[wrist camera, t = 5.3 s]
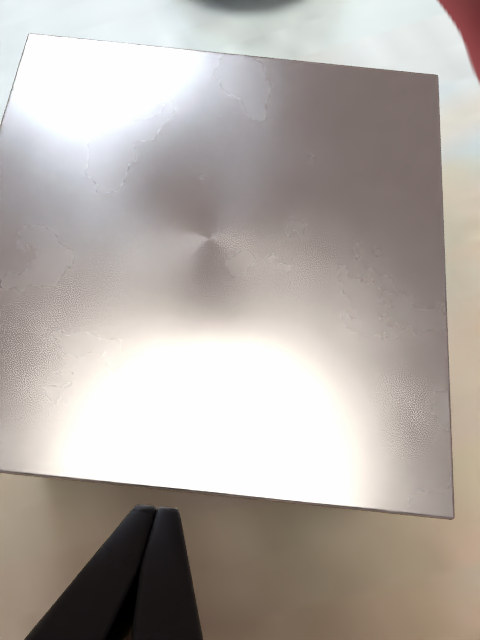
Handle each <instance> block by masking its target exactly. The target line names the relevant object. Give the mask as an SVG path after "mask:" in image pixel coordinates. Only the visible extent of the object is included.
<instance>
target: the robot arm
mask: <svg viewBox="0 0 480 640" xmlns="http://www.w3.org/2000/svg"><path fill="white" fill-rule="evenodd" d="M24 640H203V636H202V630H201V625H200V620H199V614H198V609H197V604H196V598H195V593H194V588H193V582H192V577H191V572H190V566H189V561H188V556H187V550H186V545H185V540H184V534H183V529H182V524H181V518H180V513H179V510H178V509H177V508H172V507H159V508H158V509H157V507H156V506H152V505H142V504H139V505H136V506H135V507H134V508H133V509H132V510H131V511H130V513H129V514H128V515H127V516H126V517H125V519H124V520H123V521H122V522H121V523H120V525H119V526H118V527H117V528H116V529H115V531H114V532H113V533H112V534H111V536H110V537H109V538H108V539H107V540H106V542H105V543H104V544H103V545H102V546H101V548H100V549H99V550H98V551H97V552H96V554H95V555H94V556H93V557H92V558H91V560H90V561H89V562H88V563H87V564H86V566H85V567H84V568H83V569H82V570H81V572H80V573H79V574H78V575H77V576H76V578H75V579H74V580H73V581H72V583H71V584H70V585H69V586H68V587H67V589H66V590H65V591H64V592H63V593H62V595H61V596H60V597H59V598H58V599H57V601H56V602H55V603H54V604H53V605H52V607H51V608H50V609H49V610H48V611H47V613H46V614H45V615H44V616H43V617H42V619H41V620H40V621H39V622H38V623H37V625H36V626H35V627H34V628H33V630H32V631H31V632H30V633H29V634H28V636H27V637H26V638H25V639H24Z"/></svg>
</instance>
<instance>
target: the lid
mask: <svg viewBox="0 0 480 640" xmlns="http://www.w3.org/2000/svg"><path fill="white" fill-rule="evenodd" d="M0 473H5V474H15V475H25V476H34V477H44V478H54V479H63V480H73V481H82V482H92V483H102V484H111V485H121V486H131V487H140V488H150V489H159V490H169V491H179V492H188V493H198V494H208V495H217V496H227V497H236V498H246V499H256V500H265V501H275V502H285V503H294V504H304V505H313V506H323V507H333V508H342V509H352V510H362V511H371V512H381V513H390V514H400V515H410V516H419V517H429V518H439V519H448V520H452V519H454V490H453V463H452V436H451V409H450V382H449V355H448V328H447V301H446V274H445V247H444V220H443V193H442V166H441V139H440V112H439V85H438V75H434V74H424V73H414V72H404V71H394V70H384V69H375V68H365V67H355V66H345V65H335V64H325V63H316V62H306V61H296V60H286V59H276V58H266V57H257V56H247V55H237V54H227V53H217V52H207V51H198V50H188V49H178V48H168V47H158V46H148V45H139V44H129V43H119V42H109V41H99V40H89V39H80V38H70V37H60V36H50V35H40V34H28V37H27V40H26V44H25V47H24V50H23V53H22V57H21V60H20V63H19V66H18V70H17V73H16V76H15V79H14V83H13V86H12V89H11V92H10V96H9V99H8V102H7V105H6V109H5V112H4V115H3V118H2V122H1V125H0Z"/></svg>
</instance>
